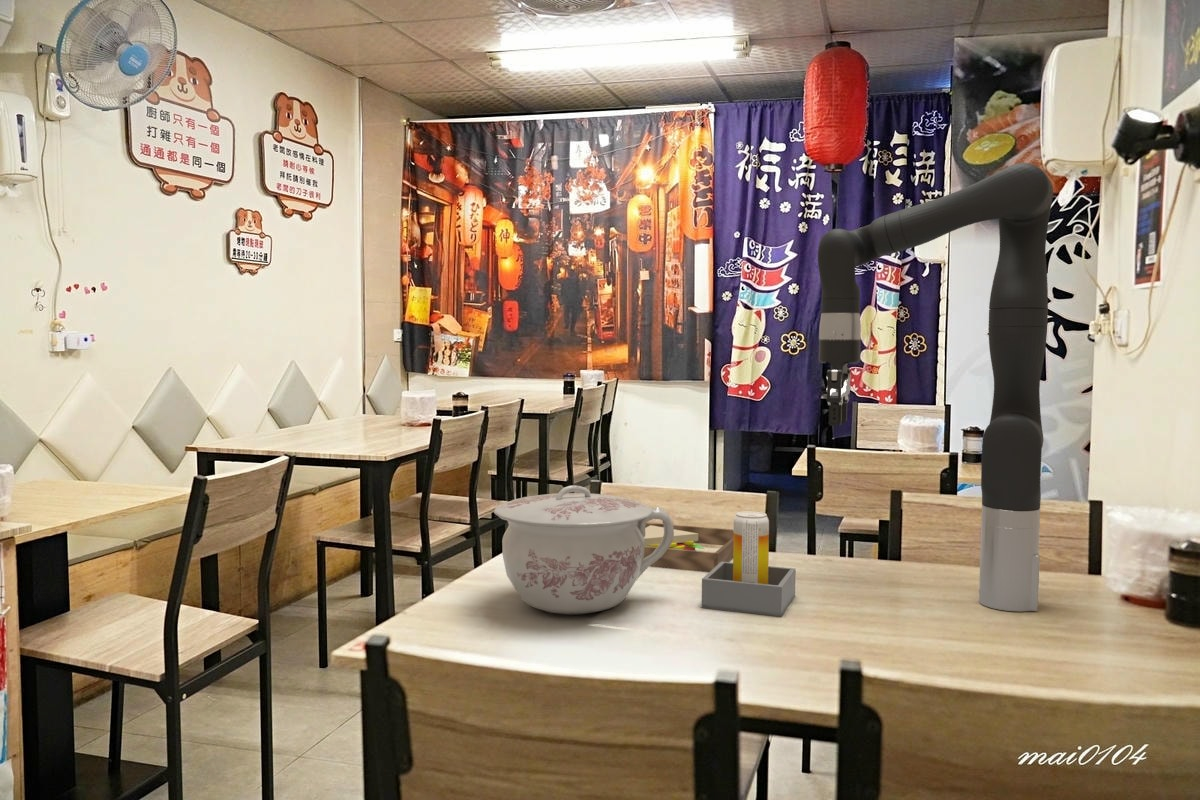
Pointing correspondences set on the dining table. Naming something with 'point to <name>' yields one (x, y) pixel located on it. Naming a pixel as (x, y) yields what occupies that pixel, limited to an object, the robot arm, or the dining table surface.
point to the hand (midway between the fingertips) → (837, 423)
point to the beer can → (751, 547)
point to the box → (748, 591)
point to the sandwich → (679, 541)
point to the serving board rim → (696, 558)
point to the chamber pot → (577, 548)
